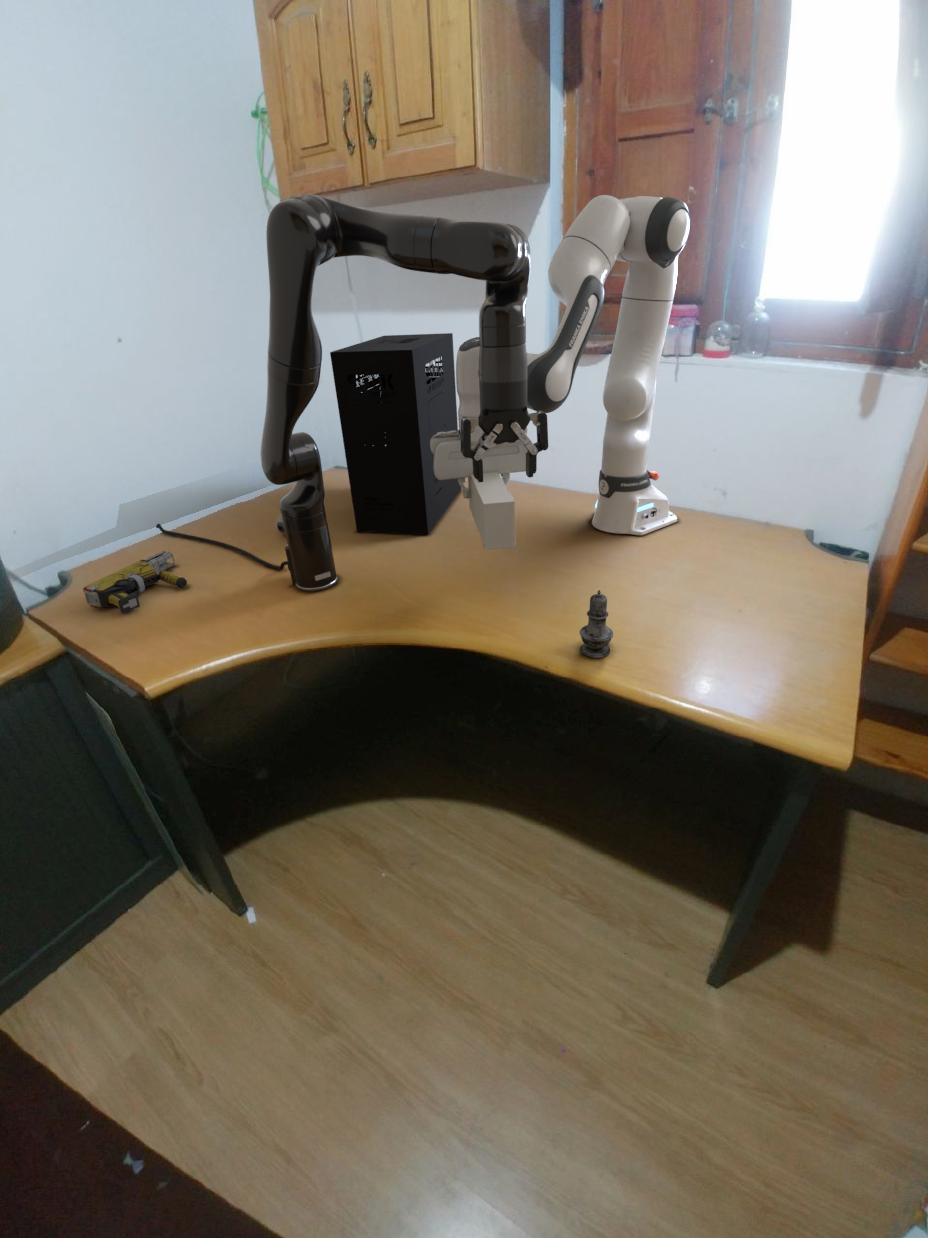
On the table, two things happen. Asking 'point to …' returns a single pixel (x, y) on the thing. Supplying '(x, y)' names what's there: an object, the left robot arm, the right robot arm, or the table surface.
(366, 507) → the cardboard box
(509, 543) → the bar
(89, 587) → the toy gun
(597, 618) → the dark grey chess piece
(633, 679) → the table surface
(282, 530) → the eyeball
